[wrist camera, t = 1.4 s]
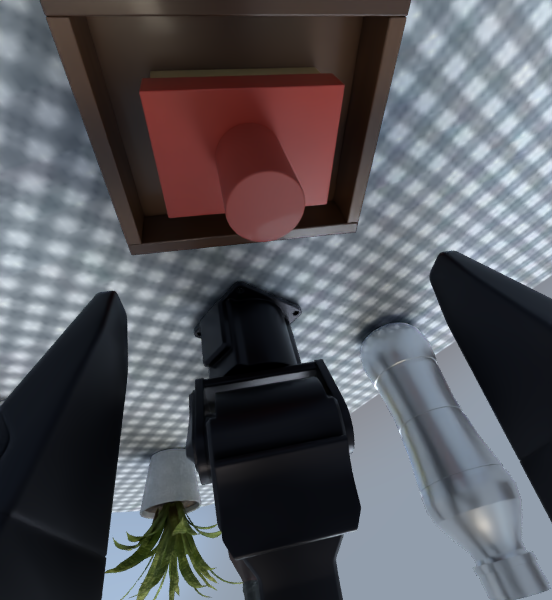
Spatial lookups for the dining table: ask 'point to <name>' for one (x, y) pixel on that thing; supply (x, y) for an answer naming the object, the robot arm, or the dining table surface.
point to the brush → (244, 143)
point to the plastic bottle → (452, 462)
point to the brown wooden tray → (210, 56)
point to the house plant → (169, 525)
